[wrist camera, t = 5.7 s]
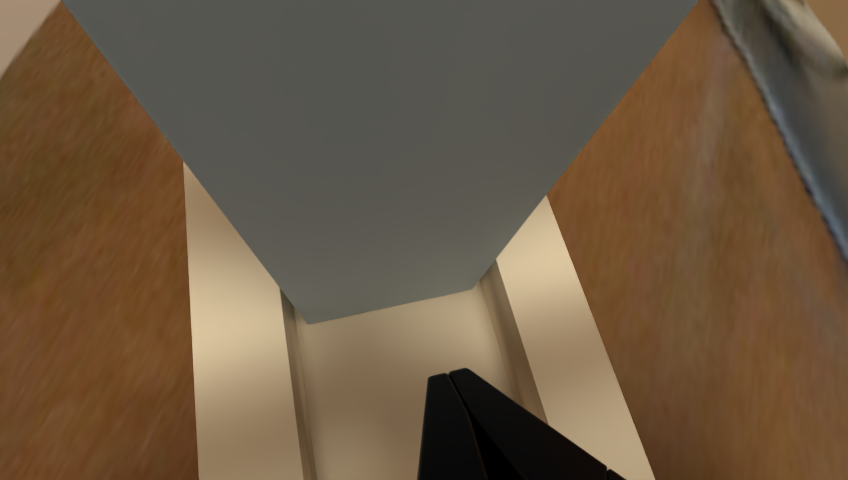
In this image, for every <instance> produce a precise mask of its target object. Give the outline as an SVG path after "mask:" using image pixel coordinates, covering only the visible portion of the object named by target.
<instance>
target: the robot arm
mask: <svg viewBox="0 0 848 480" xmlns="http://www.w3.org/2000/svg"><path fill="white" fill-rule="evenodd" d="M417 480H626V479H625V478H623V477H622V476H620V475H619V474H618V473H616V472H615V471H613V470H612V469H608V471H607V466H606V465H605V464H603V463H602V462H600V461H599V460H598V459H596V458H595V457H593V456H592V455H590V454H589V453H588V452H586V451H585V450H583V449H582V448H581V447H579V446H578V445H576V444H575V443H573V442H572V441H571V440H569V439H568V438H566V437H565V436H564V435H562V434H561V433H559V432H558V431H556V430H555V429H554V428H552V427H551V426H549V425H548V424H547V423H545V422H544V421H542V420H541V419H539V418H538V417H537V416H535V415H534V414H532V413H531V412H530V411H528V410H527V409H525V408H524V407H523V406H521V405H520V404H518V403H517V402H515V401H514V400H513V399H511V398H510V397H508V396H507V395H506V394H504V393H503V392H501V391H500V390H498V389H497V388H496V387H494V386H493V385H491V384H490V383H489V382H487V381H486V380H484V379H483V378H481V377H480V376H479V375H477V374H476V373H474V372H473V371H472V370H470V369H469V368H461V369H457V370H453V371H450V372H449V373H448V374H447V373H440V374H436V375H432V376H429V377H428V380H427V389H426V398H425V408H424V417H423V427H422V436H421V446H420V455H419V464H418V474H417Z"/></svg>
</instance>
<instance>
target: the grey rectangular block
mask: <svg viewBox="0 0 848 480" xmlns="http://www.w3.org/2000/svg"><path fill="white" fill-rule="evenodd" d="M61 1H62V2H63V3H64V5H65V6H66V7H67V8H68V10H69V11H70V12H71V14H72V15H73V16H74V18H75V19H76V20H77V22H78V23H79V24H80V26H81V27H82V28H83V30H84V31H85V32H86V33H87V35H88V36H89V37H90V39H91V40H92V41H93V43H94V44H95V45H96V47H97V48H98V49H99V51H100V52H101V53H102V55H103V56H104V57H105V58H106V60H107V61H108V62H109V64H110V65H111V66H112V68H113V69H114V70H115V72H116V73H117V74H118V76H119V77H120V78H121V80H122V81H123V82H124V83H125V85H126V86H127V87H128V89H129V90H130V91H131V93H132V94H133V95H134V97H135V98H136V99H137V101H138V102H139V103H140V105H141V106H142V107H143V108H144V110H145V111H146V112H147V114H148V115H149V116H150V118H151V119H152V120H153V122H154V123H155V124H156V126H157V127H158V128H159V129H160V131H161V132H162V133H163V135H164V136H165V137H166V139H167V140H168V141H169V143H170V144H171V145H172V147H173V148H174V149H175V151H176V152H177V153H178V154H179V156H180V157H181V158H182V160H183V161H184V162H185V164H186V165H187V166H188V168H189V169H190V170H191V172H192V173H193V174H194V176H195V177H196V178H197V179H198V181H199V182H200V183H201V185H202V186H203V187H204V189H205V190H206V191H207V193H208V194H209V195H210V197H211V198H212V199H213V201H214V202H215V203H216V204H217V206H218V207H219V208H220V210H221V211H222V212H223V214H224V215H225V216H226V218H227V219H228V220H229V222H230V223H231V224H232V226H233V227H234V228H235V229H236V231H237V232H238V233H239V235H240V236H241V237H242V239H243V240H244V241H245V243H246V244H247V245H248V247H249V248H250V249H251V250H252V252H253V253H254V254H255V256H256V257H257V258H258V260H259V261H260V262H261V264H262V265H263V266H264V268H265V269H266V270H267V272H268V273H269V274H270V275H271V277H272V278H273V279H274V281H275V282H276V283H277V285H278V286H279V287H280V289H281V290H282V291H283V293H284V294H285V295H286V297H287V298H288V299H289V300H290V302H291V303H292V304H293V306H294V307H295V308H296V310H297V311H298V312H299V314H300V315H301V316H302V318H303V319H304V320H305V322H306V323H307V324H313V323H317V322H322V321H327V320H331V319H336V318H341V317H345V316H350V315H355V314H359V313H364V312H369V311H373V310H378V309H383V308H387V307H392V306H397V305H401V304H406V303H411V302H415V301H420V300H425V299H429V298H434V297H439V296H443V295H448V294H453V293H457V292H462V291H467V290H471V289H473V287H474V286H475V285H476V284H477V282H478V281H479V280H480V279H481V277H482V276H483V275H484V273H485V272H486V271H487V270H488V268H489V267H490V266H491V265H492V263H493V262H494V261H495V259H496V258H497V257H498V256H499V254H500V253H501V252H502V250H503V249H504V248H505V247H506V245H507V244H508V243H509V242H510V240H511V239H512V238H513V236H514V235H515V234H516V233H517V231H518V230H519V229H520V228H521V226H522V225H523V224H524V222H525V221H526V220H527V219H528V217H529V216H530V215H531V214H532V212H533V211H534V210H535V208H536V207H537V206H538V205H539V203H540V202H541V201H542V200H543V198H544V197H545V196H546V194H547V193H548V192H549V191H550V189H551V188H552V187H553V185H554V184H555V183H556V182H557V180H558V179H559V178H560V177H561V175H562V174H563V173H564V171H565V170H566V169H567V168H568V166H569V165H570V164H571V163H572V161H573V160H574V159H575V157H576V156H577V155H578V154H579V152H580V151H581V150H582V149H583V147H584V146H585V145H586V143H587V142H588V141H589V140H590V138H591V137H592V136H593V134H594V133H595V132H596V131H597V129H598V128H599V127H600V126H601V124H602V123H603V122H604V120H605V119H606V118H607V117H608V115H609V114H610V113H611V112H612V110H613V109H614V108H615V106H616V105H617V104H618V103H619V101H620V100H621V99H622V98H623V96H624V95H625V94H626V92H627V91H628V90H629V89H630V87H631V86H632V85H633V84H634V82H635V81H636V80H637V78H638V77H639V76H640V75H641V73H642V72H643V71H644V69H645V68H646V67H647V66H648V64H649V63H650V62H651V61H652V59H653V58H654V57H655V55H656V54H657V53H658V52H659V50H660V49H661V48H662V47H663V45H664V44H665V43H666V41H667V40H668V39H669V38H670V36H671V35H672V34H673V33H674V31H675V30H676V29H677V27H678V26H679V25H680V24H681V22H682V21H683V20H684V18H685V17H686V16H687V15H688V13H689V12H690V11H691V10H692V8H693V7H694V6H695V4H696V3H697V2H698V1H699V0H61Z"/></svg>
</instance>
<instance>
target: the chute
mask: <svg viewBox="0 0 848 480" xmlns="http://www.w3.org/2000/svg"><path fill="white" fill-rule="evenodd" d="M183 165H184V185H185V205H186V226H187V246H188V266H189V286H190V307H191V327H192V347H193V368H194V388H195V408H196V428H197V449H198V469H199V480H417V474H418V464H419V455H420V446H421V436H422V427H423V417H424V408H425V398H426V389H427V380H428V377H429V376H432V375H436V374H440V373H447V374H448V373H449V372H450V371H453V370H457V369H461V368H469V369H470V370H472V371H473V372H474V373H476V374H477V375H479V376H480V377H481V378H483V379H484V380H486V381H487V382H489V383H490V384H491V385H493V386H494V387H496V388H497V389H498V390H500V391H501V392H503V393H504V394H506V395H507V396H508V397H510V398H511V399H513V400H514V401H515V402H517V403H518V404H520V405H521V406H523V407H524V408H525V409H527V410H528V411H530V412H531V413H532V414H534V415H535V416H537V417H538V418H539V419H541V420H542V421H544V422H545V423H547V424H548V425H549V426H551V427H552V428H554V429H555V430H556V431H558V432H559V433H561V434H562V435H564V436H565V437H566V438H568V439H569V440H571V441H572V442H573V443H575V444H576V445H578V446H579V447H581V448H582V449H583V450H585V451H586V452H588V453H589V454H590V455H592V456H593V457H595V458H596V459H598V460H599V461H600V462H602V463H603V464H605V465H606V466H607V471H608V469H612V470H613V471H615V472H616V473H618V474H619V475H620V476H622V477H623V478H625V479H626V480H655V478H654V475H653V472H652V470H651V467H650V465H649V462H648V459H647V457H646V454H645V451H644V449H643V446H642V444H641V441H640V438H639V436H638V433H637V431H636V428H635V425H634V423H633V420H632V418H631V415H630V412H629V410H628V407H627V405H626V402H625V399H624V397H623V394H622V392H621V389H620V386H619V384H618V381H617V378H616V376H615V373H614V371H613V368H612V365H611V363H610V360H609V358H608V355H607V352H606V350H605V347H604V345H603V342H602V339H601V337H600V334H599V332H598V329H597V326H596V324H595V321H594V319H593V316H592V313H591V311H590V308H589V305H588V303H587V300H586V298H585V295H584V292H583V290H582V287H581V285H580V282H579V279H578V277H577V274H576V272H575V269H574V266H573V264H572V261H571V259H570V256H569V253H568V251H567V248H566V245H565V243H564V240H563V238H562V235H561V232H560V230H559V227H558V225H557V222H556V219H555V217H554V214H553V212H552V209H551V206H550V204H549V201H548V199H547V196H545V197H544V198H543V200H542V201H541V202H540V203H539V205H538V206H537V207H536V208H535V210H534V211H533V212H532V214H531V215H530V216H529V217H528V219H527V220H526V221H525V222H524V224H523V225H522V226H521V228H520V229H519V230H518V231H517V233H516V234H515V235H514V236H513V238H512V239H511V240H510V242H509V243H508V244H507V245H506V247H505V248H504V249H503V250H502V252H501V253H500V254H499V256H498V257H497V258H496V259H495V261H494V262H493V263H492V265H491V266H490V267H489V268H488V270H487V271H486V272H485V273H484V275H483V276H482V277H481V279H480V280H479V281H478V282H477V284H476V285H475V286H474V287H473V289H471V290H467V291H462V292H457V293H453V294H448V295H443V296H439V297H434V298H429V299H425V300H420V301H415V302H411V303H406V304H401V305H397V306H392V307H387V308H383V309H378V310H373V311H369V312H364V313H359V314H355V315H350V316H345V317H341V318H336V319H331V320H327V321H322V322H317V323H313V324H307V323H306V322H305V320H304V319H303V318H302V316H301V315H300V314H299V312H298V311H297V310H296V308H295V307H294V306H293V304H292V303H291V302H290V300H289V299H288V298H287V297H286V295H285V294H284V293H283V291H282V290H281V289H280V287H279V286H278V285H277V283H276V282H275V281H274V279H273V278H272V277H271V275H270V274H269V273H268V272H267V270H266V269H265V268H264V266H263V265H262V264H261V262H260V261H259V260H258V258H257V257H256V256H255V254H254V253H253V252H252V250H251V249H250V248H249V247H248V245H247V244H246V243H245V241H244V240H243V239H242V237H241V236H240V235H239V233H238V232H237V231H236V229H235V228H234V227H233V226H232V224H231V223H230V222H229V220H228V219H227V218H226V216H225V215H224V214H223V212H222V211H221V210H220V208H219V207H218V206H217V204H216V203H215V202H214V201H213V199H212V198H211V197H210V195H209V194H208V193H207V191H206V190H205V189H204V187H203V186H202V185H201V183H200V182H199V181H198V179H197V178H196V177H195V176H194V174H193V173H192V172H191V170H190V169H189V168H188V166H187V165H186V164H185V162H184V161H183Z"/></svg>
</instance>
